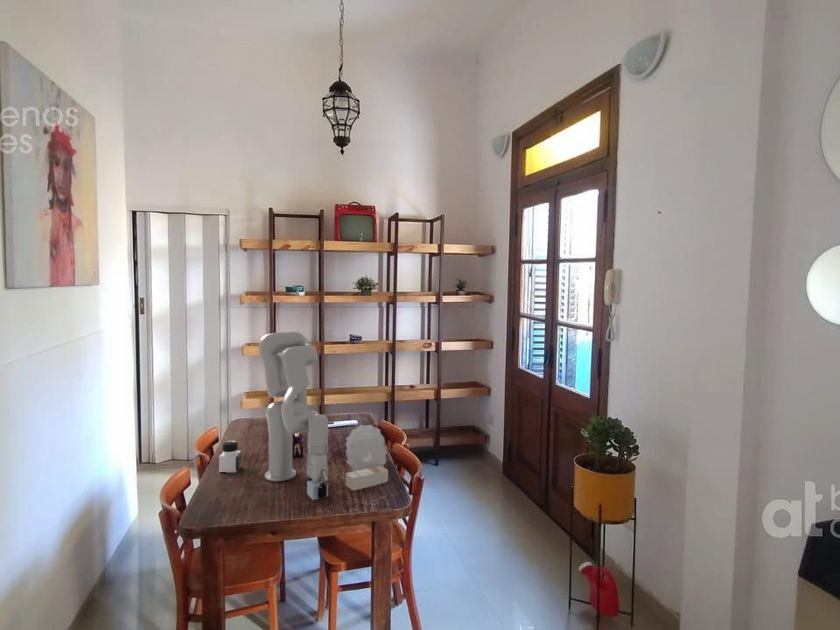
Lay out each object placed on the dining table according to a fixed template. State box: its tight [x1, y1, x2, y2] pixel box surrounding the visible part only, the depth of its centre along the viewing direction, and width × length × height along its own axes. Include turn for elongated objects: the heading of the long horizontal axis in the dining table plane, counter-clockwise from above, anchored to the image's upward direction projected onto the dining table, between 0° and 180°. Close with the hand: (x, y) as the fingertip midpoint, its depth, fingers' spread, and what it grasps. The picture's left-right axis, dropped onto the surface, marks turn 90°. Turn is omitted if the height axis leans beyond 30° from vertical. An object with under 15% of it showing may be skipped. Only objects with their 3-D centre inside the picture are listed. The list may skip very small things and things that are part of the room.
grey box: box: [306, 478, 329, 501], centre depth 187 cm, size 6×6×5 cm
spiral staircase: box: [345, 424, 388, 472], centre depth 216 cm, size 18×18×25 cm
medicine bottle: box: [218, 440, 242, 473], centre depth 211 cm, size 7×7×12 cm
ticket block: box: [345, 466, 389, 491], centre depth 199 cm, size 6×16×5 cm, turn 124°
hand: (317, 492), depth 188 cm, fingers open, 8 cm apart
